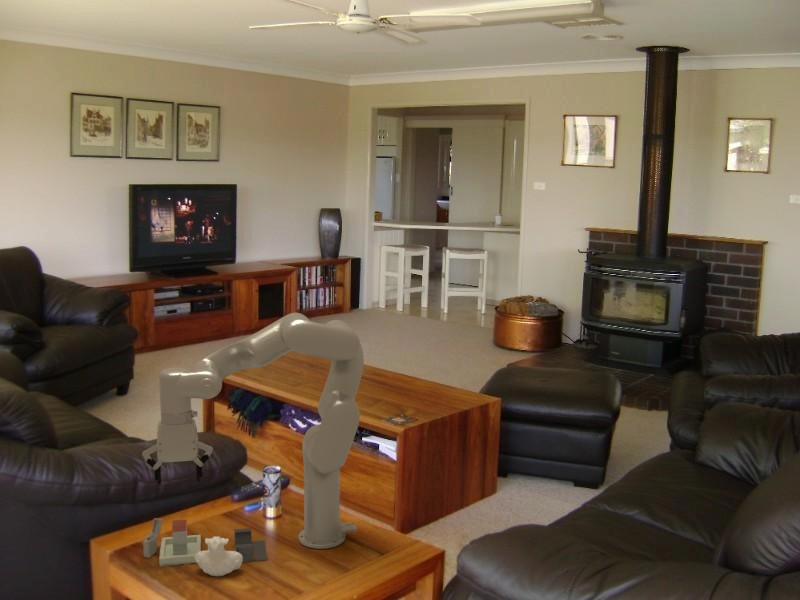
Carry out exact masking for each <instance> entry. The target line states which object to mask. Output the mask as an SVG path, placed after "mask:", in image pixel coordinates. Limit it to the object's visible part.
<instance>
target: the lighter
mask: <svg viewBox="0 0 800 600" xmlns="http://www.w3.org/2000/svg"><path fill="white" fill-rule="evenodd" d="M162 523H163V519H162V518H156V517H155V518H153V523H152V526H151V527H152V528H151V532H149V533H148V534H147V535H146V538H145V539H143V542H142V543H143V544H142V545H143V548H142V549H143V557H144V558H151V557H152V556H153V555H154V554H155V553H157V552H158V536H160V535H161V531H162Z"/></svg>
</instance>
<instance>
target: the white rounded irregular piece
mask: <svg viewBox="0 0 800 600" xmlns="http://www.w3.org/2000/svg"><path fill="white" fill-rule="evenodd" d="M229 541H230V540H229V538H224V537H220V536H215V535H214V536H213V537H211V538H207V537H206V538H205V539H204V543H205V544H206V545H207V550H201V551H200V552H198V553H196V554H195V556H194V558H195V560H196V562H197V563H196V564H198V566H199V568H200V569H201V570H202V571H203V572H204V573H205V574H207V575H209V576H211V577H223V576H225V575H228V574H230V573H232V572H233V571H236V570H238V569H240V568H241V566H242V564H243V562H242V561H243V557H242V555H241V554H240V553H238V552H236V551H235V550H226V549H225V546H226V545H227V544H228V543H229Z"/></svg>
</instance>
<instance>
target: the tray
mask: <svg viewBox="0 0 800 600" xmlns="http://www.w3.org/2000/svg"><path fill="white" fill-rule="evenodd" d="M201 537H202V535H201V534H194V535H187V554H185V555H173V538H172V536H169V537H161V543H160V549H159V550H160V551H159V558H158V559H159V560H158V561H159V567H169V566H171V565H172V566H180V565H179V564H184V565H191V564H190V563H196V564H198V563H197V562H196V560H195V558H194V556H195V554H196V553H198V552H200V551H202V550H201V549H202V538H201ZM172 566H171V567H172Z"/></svg>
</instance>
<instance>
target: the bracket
mask: <svg viewBox="0 0 800 600" xmlns="http://www.w3.org/2000/svg"><path fill="white" fill-rule="evenodd" d="M233 532H234V547H235V548H234V551H236V552H238V553H240V554H241V555H242V557H243V561H242V563H252V562H253V563H254V561H255V562H261V561H268V556H267V549H266V547H267V546H266V542H265V539H258V540H253V539H252V537H253V536H252V528H251V527H248V528H245V527H244V528H235V529H234V531H233Z"/></svg>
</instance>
